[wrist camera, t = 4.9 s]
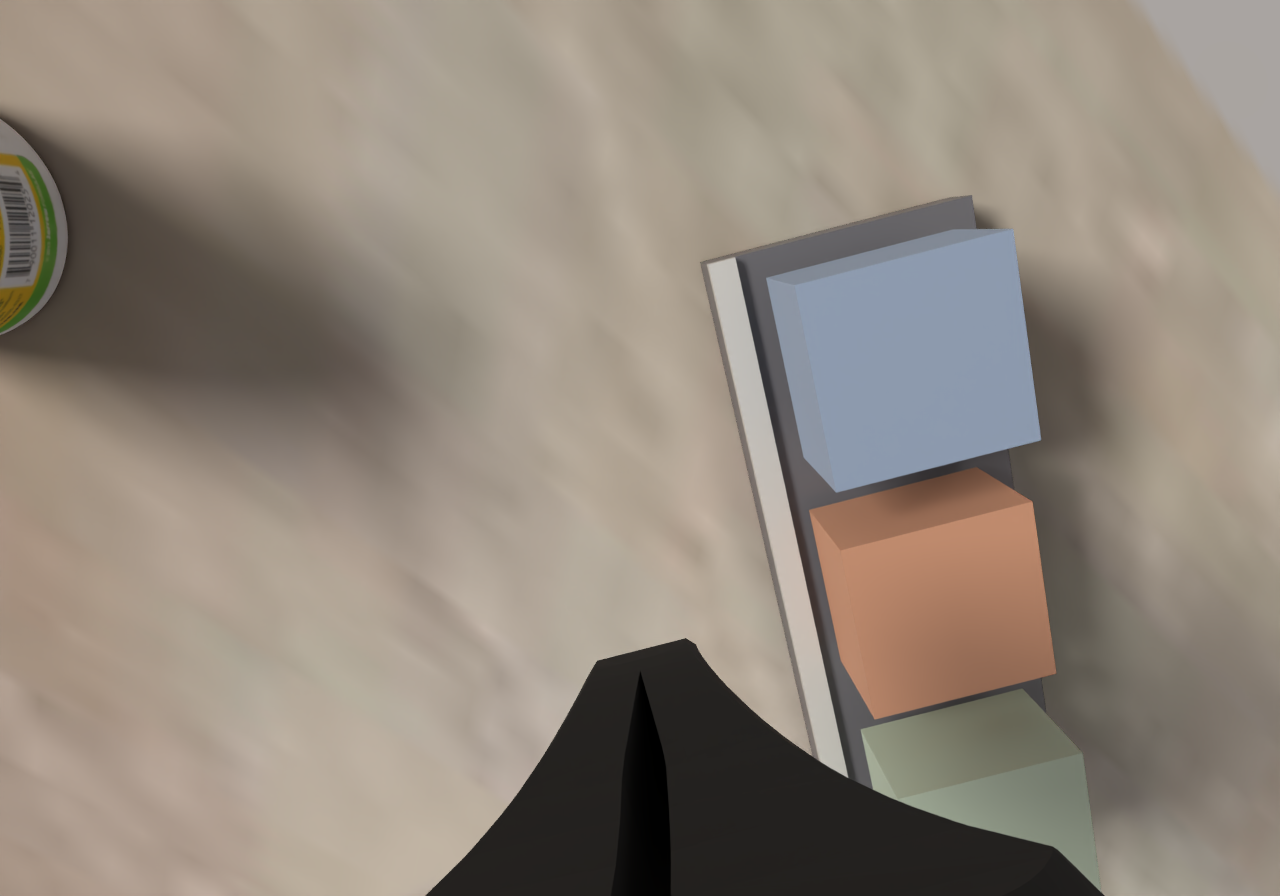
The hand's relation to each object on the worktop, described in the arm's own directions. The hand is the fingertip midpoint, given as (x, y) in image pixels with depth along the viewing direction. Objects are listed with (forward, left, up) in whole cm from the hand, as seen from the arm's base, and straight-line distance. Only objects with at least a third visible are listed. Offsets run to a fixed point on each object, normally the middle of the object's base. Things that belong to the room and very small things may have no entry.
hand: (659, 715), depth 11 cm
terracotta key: (-3, -6, -8) cm, 11 cm away
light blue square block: (+2, -6, -8) cm, 10 cm away
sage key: (-9, -6, -8) cm, 13 cm away
